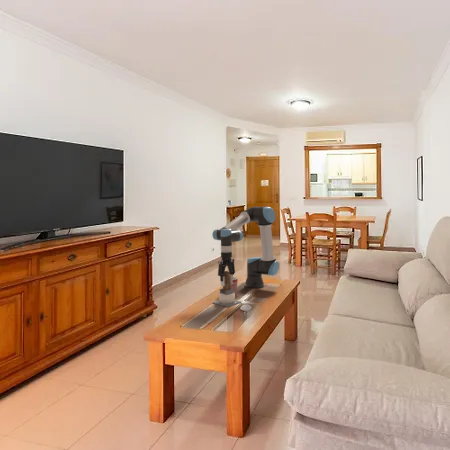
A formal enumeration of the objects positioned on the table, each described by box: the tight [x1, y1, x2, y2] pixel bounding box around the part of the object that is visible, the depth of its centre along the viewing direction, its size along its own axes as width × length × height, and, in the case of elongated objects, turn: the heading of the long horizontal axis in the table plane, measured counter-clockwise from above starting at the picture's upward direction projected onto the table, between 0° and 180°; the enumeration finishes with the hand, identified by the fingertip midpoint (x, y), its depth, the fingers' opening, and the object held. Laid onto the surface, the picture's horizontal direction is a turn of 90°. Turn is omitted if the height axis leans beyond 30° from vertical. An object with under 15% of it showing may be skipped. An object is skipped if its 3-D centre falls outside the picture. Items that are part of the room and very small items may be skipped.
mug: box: [230, 276, 239, 298], centre depth 308 cm, size 13×9×14 cm
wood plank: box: [222, 270, 230, 293], centre depth 289 cm, size 3×4×15 cm
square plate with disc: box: [212, 287, 242, 308], centre depth 290 cm, size 14×14×10 cm
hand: (226, 284), depth 289 cm, fingers open, 7 cm apart
